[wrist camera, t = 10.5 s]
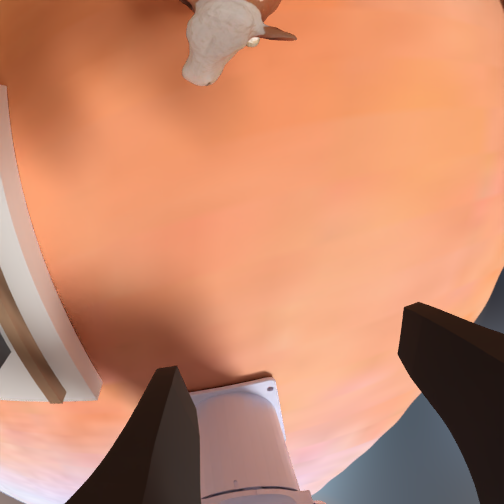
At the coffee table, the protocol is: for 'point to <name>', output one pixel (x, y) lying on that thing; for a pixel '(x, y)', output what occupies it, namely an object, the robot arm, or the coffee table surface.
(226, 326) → the coffee table surface
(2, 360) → the grey rectangular block
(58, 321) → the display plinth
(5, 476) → the coffee table surface
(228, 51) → the bull figurine
